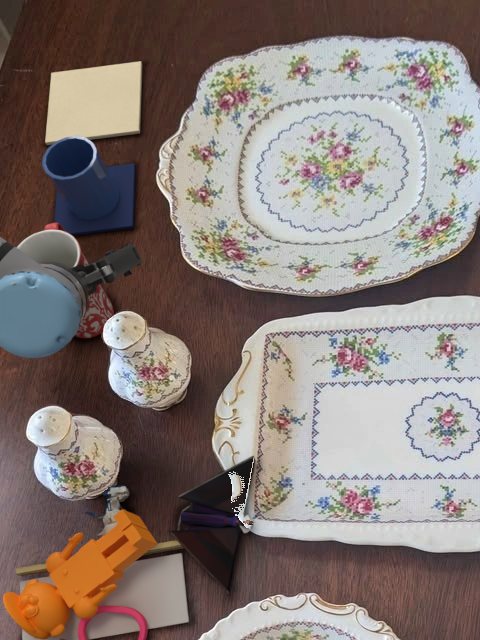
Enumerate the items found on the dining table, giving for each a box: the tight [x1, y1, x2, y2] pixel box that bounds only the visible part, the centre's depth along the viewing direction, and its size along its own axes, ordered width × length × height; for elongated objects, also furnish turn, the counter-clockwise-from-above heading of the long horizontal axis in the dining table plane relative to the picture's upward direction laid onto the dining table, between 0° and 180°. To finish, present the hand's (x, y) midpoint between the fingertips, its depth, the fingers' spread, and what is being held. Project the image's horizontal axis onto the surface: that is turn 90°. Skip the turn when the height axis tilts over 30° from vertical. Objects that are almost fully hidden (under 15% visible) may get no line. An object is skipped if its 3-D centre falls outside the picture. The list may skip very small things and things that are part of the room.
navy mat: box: [53, 162, 137, 237], centre depth 120 cm, size 12×12×1 cm
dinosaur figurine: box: [84, 484, 130, 537], centre depth 99 cm, size 5×4×10 cm
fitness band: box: [78, 605, 149, 640], centre depth 94 cm, size 8×6×2 cm
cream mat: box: [44, 60, 143, 146], centre depth 127 cm, size 15×15×1 cm
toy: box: [2, 508, 158, 639], centre depth 93 cm, size 9×18×8 cm, turn 127°
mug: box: [16, 222, 115, 339], centre depth 107 cm, size 13×9×14 cm
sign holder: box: [15, 539, 190, 640], centre depth 96 cm, size 21×2×10 cm
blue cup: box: [41, 136, 120, 220], centre depth 116 cm, size 8×8×9 cm
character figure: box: [168, 455, 257, 596], centre depth 98 cm, size 18×3×10 cm
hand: (66, 283), depth 102 cm, fingers open, 13 cm apart
